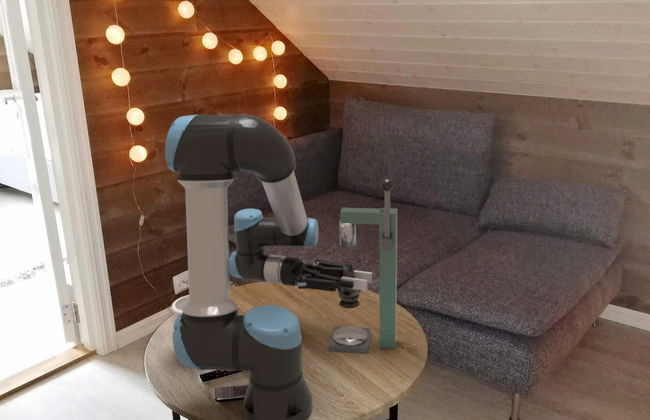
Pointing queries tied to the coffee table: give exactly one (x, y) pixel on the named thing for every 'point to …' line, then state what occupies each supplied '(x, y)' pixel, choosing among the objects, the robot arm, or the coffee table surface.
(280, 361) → the robot arm
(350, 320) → the coffee table surface
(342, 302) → the dark chess piece
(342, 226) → the arbor press
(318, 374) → the coffee table surface
